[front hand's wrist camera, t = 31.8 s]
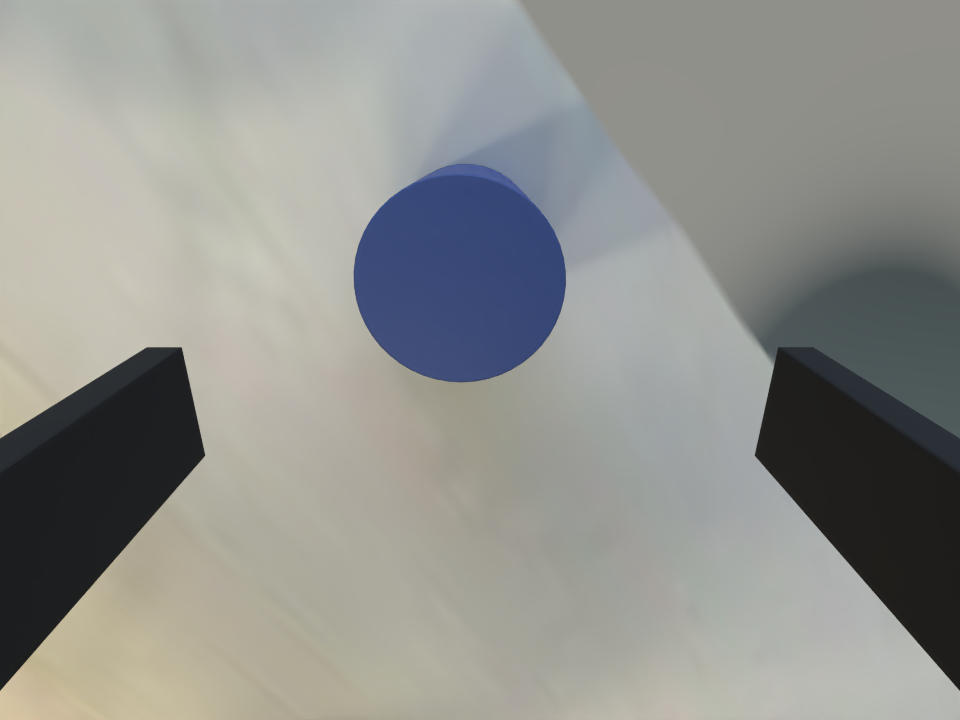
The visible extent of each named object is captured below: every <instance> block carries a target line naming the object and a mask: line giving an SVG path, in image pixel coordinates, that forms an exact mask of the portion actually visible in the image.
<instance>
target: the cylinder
mask: <svg viewBox="0 0 960 720" xmlns="http://www.w3.org/2000/svg"><path fill="white" fill-rule="evenodd" d="M565 287H566V271H565V264H564V257H563V254H562V250H561V247H560V244H559V241H558V239H557V237H556V235H555V232H554V230H553V229H552V227H551V225H550V224H549V222H548V220H547V219H546V218H545V216H544V215H543V214H542V213H541V212H540V210H539V209H538V208H537V207H536V206H535V205H534V204H533V203H532V201H531V200H530V199H529V198H528V197H527V196H526V195H525V194H524V193H523V192H522V191H521V190H520V189H519V188H518V187H517V186H516V185H515V184H514V183H513V182H512V181H511V180H510V179H508V178H507V177H505V176H504V175H503V174H501V173H499V172H497V171H495V170H493V169H490V168H487V167H484V166H479V165H473V164H458V165H452V166H447V167H444V168H441V169H438V170H436V171H434V172H432V173H430V174H428V175H427V176H425V177H423V178H421V179H420V180H418V181H416V182H414V183H413V184H411V185H409V186H407V187H406V188H404V189H402V190H401V191H399V192H398V193H397V194H395V195H394V196H393V197H391V198H390V199H389V200H388V201H387V202H386V203H385V204H384V205H383V206H382V207H381V208H380V209H379V210H378V211H377V213H376V214H375V215H374V216H373V218H372V219H371V220H370V222H369V224H368V226H367V227H366V229H365V231H364V233H363V235H362V238H361V240H360V243H359V246H358V250H357V253H356V257H355V265H354V288H355V295H356V300H357V304H358V307H359V310H360V313H361V316H362V318H363V320H364V322H365V325H366V326H367V328H368V330H369V331H370V333H371V335H372V336H373V337H374V339H375V340H376V341H377V342H378V344H379V345H380V346H381V347H382V348H383V349H384V350H385V351H386V352H387V353H388V354H389V355H390V356H391V357H393V358H394V359H395V360H396V361H398V362H399V363H400V364H402V365H404V366H405V367H407V368H409V369H410V370H412V371H415V372H417V373H419V374H421V375H424V376H427V377H430V378H433V379H437V380H443V381H449V382H473V381H479V380H485V379H489V378H492V377H495V376H498V375H501V374H503V373H505V372H507V371H510V370H512V369H513V368H515V367H517V366H518V365H520V364H521V363H523V362H524V361H525V360H527V359H528V358H529V357H530V356H532V355H533V354H534V353H535V352H536V351H537V350H538V349H539V348H540V347H541V345H542V344H543V343H544V341H545V340H546V339H547V337H548V336H549V335H550V333H551V331H552V329H553V328H554V326H555V324H556V322H557V319H558V317H559V314H560V312H561V308H562V304H563V301H564V295H565Z"/></svg>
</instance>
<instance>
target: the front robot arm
mask: <svg viewBox="0 0 960 720" xmlns="http://www.w3.org/2000/svg"><path fill="white" fill-rule="evenodd" d="M204 456H205V452H204V448H203V443H202V439H201V434H200V429H199V425H198V420H197V416H196V411H195V406H194V402H193V397H192V393H191V388H190V383H189V379H188V374H187V370H186V365H185V360H184V356H183V351H182V347H147V348H145V349H144V350H142V351H140V352H139V353H137V354H136V355H134V356H132V357H131V358H129V359H127V360H126V361H124V362H123V363H121V364H119V365H118V366H116V367H115V368H113V369H111V370H110V371H108V372H107V373H105V374H103V375H102V376H100V377H99V378H97V379H95V380H94V381H92V382H90V383H89V384H87V385H86V386H84V387H82V388H81V389H79V390H78V391H76V392H74V393H73V394H71V395H70V396H68V397H66V398H65V399H63V400H62V401H60V402H58V403H57V404H55V405H53V406H52V407H50V408H49V409H47V410H45V411H44V412H42V413H41V414H39V415H37V416H36V417H34V418H33V419H31V420H29V421H28V422H26V423H25V424H23V425H21V426H20V427H18V428H16V429H15V430H13V431H12V432H10V433H8V434H7V435H5V436H4V437H2V438H0V690H1V689H2V688H3V687H4V686H5V685H6V683H7V682H8V681H9V680H10V679H11V678H12V677H13V675H14V674H15V673H16V672H17V671H18V670H19V669H20V667H21V666H22V665H23V664H24V663H25V662H26V661H27V659H28V658H29V657H30V656H31V655H32V654H33V652H34V651H35V650H36V649H37V648H38V647H39V646H40V644H41V643H42V642H43V641H44V640H45V639H46V638H47V636H48V635H49V634H50V633H51V632H52V631H53V630H54V628H55V627H56V626H57V625H58V624H59V623H60V622H61V620H62V619H63V618H64V617H65V616H66V615H67V613H68V612H69V611H70V610H71V609H72V608H73V607H74V605H75V604H76V603H77V602H78V601H79V600H80V599H81V597H82V596H83V595H84V594H85V593H86V592H87V591H88V589H89V588H90V587H91V586H92V585H93V584H94V583H95V581H96V580H97V579H98V578H99V577H100V576H101V574H102V573H103V572H104V571H105V570H106V569H107V568H108V566H109V565H110V564H111V563H112V562H113V561H114V560H115V558H116V557H117V556H118V555H119V554H120V553H121V552H122V550H123V549H124V548H125V547H126V546H127V545H128V544H129V542H130V541H131V540H132V539H133V538H134V537H135V535H136V534H137V533H138V532H139V531H140V530H141V529H142V527H143V526H144V525H145V524H146V523H147V522H148V521H149V519H150V518H151V517H152V516H153V515H154V514H155V513H156V511H157V510H158V509H159V508H160V507H161V506H162V505H163V503H164V502H165V501H166V500H167V499H168V498H169V496H170V495H171V494H172V493H173V492H174V491H175V490H176V488H177V487H178V486H179V485H180V484H181V483H182V482H183V480H184V479H185V478H186V477H187V476H188V475H189V474H190V472H191V471H192V470H193V469H194V468H195V467H196V466H197V464H198V463H199V462H200V461H201V460H202V459H203V457H204ZM755 456H756V457H757V459H758V460H759V461H760V462H761V463H762V464H763V466H764V467H765V468H766V469H767V470H768V471H769V472H770V474H771V475H772V476H773V477H774V478H775V479H776V480H777V482H778V483H779V484H780V485H781V486H782V487H783V488H784V490H785V491H786V492H787V493H788V494H789V495H790V496H791V498H792V499H793V500H794V501H795V502H796V503H797V505H798V506H799V507H800V508H801V509H802V510H803V511H804V513H805V514H806V515H807V516H808V517H809V518H810V519H811V521H812V522H813V523H814V524H815V525H816V526H817V527H818V529H819V530H820V531H821V532H822V533H823V534H824V535H825V537H826V538H827V539H828V540H829V541H830V542H831V544H832V545H833V546H834V547H835V548H836V549H837V550H838V552H839V553H840V554H841V555H842V556H843V557H844V558H845V560H846V561H847V562H848V563H849V564H850V565H851V566H852V568H853V569H854V570H855V571H856V572H857V573H858V574H859V576H860V577H861V578H862V579H863V580H864V581H865V583H866V584H867V585H868V586H869V587H870V588H871V589H872V591H873V592H874V593H875V594H876V595H877V596H878V597H879V599H880V600H881V601H882V602H883V603H884V604H885V605H886V607H887V608H888V609H889V610H890V611H891V612H892V613H893V615H894V616H895V617H896V618H897V619H898V620H899V622H900V623H901V624H902V625H903V626H904V627H905V628H906V630H907V631H908V632H909V633H910V634H911V635H912V636H913V638H914V639H915V640H916V641H917V642H918V643H919V644H920V646H921V647H922V648H923V649H924V650H925V651H926V652H927V654H928V655H929V656H930V657H931V658H932V659H933V661H934V662H935V663H936V664H937V665H938V666H939V667H940V669H941V670H942V671H943V672H944V673H945V674H946V675H947V677H948V678H949V679H950V680H951V681H952V682H953V683H954V685H955V686H956V687H957V688H958V689H959V690H960V438H958V437H956V436H955V435H953V434H952V433H950V432H948V431H947V430H945V429H943V428H942V427H940V426H939V425H937V424H935V423H934V422H932V421H931V420H929V419H927V418H926V417H924V416H923V415H921V414H919V413H918V412H916V411H915V410H913V409H911V408H910V407H908V406H907V405H905V404H903V403H902V402H900V401H898V400H897V399H895V398H894V397H892V396H890V395H889V394H887V393H886V392H884V391H882V390H881V389H879V388H878V387H876V386H874V385H873V384H871V383H869V382H868V381H866V380H865V379H863V378H861V377H860V376H858V375H857V374H855V373H853V372H852V371H850V370H849V369H847V368H845V367H844V366H842V365H841V364H839V363H837V362H836V361H834V360H833V359H831V358H829V357H828V356H826V355H824V354H823V353H821V352H820V351H818V350H816V349H815V348H813V347H779V348H778V351H777V356H776V360H775V365H774V370H773V374H772V379H771V383H770V388H769V393H768V397H767V402H766V406H765V411H764V416H763V420H762V425H761V429H760V434H759V439H758V443H757V448H756V452H755Z"/></svg>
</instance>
